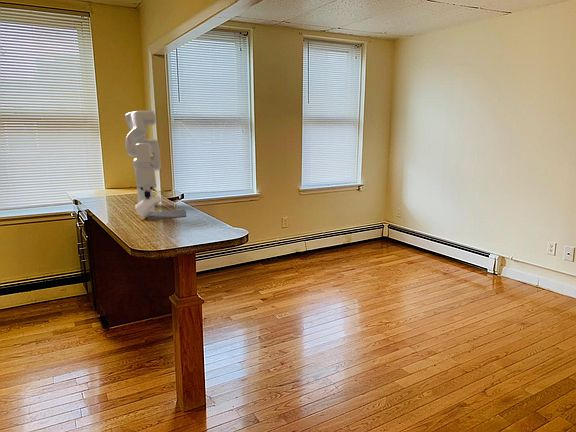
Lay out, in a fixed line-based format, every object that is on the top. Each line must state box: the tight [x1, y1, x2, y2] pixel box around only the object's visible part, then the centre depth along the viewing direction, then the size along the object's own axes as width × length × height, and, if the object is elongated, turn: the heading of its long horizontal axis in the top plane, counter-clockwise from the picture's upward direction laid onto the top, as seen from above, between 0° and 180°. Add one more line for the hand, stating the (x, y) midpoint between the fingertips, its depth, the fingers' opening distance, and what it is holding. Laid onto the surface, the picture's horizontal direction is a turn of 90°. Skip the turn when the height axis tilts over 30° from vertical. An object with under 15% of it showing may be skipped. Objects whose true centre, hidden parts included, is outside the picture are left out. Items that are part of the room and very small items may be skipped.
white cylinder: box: [135, 195, 162, 219], centre depth 240 cm, size 9×9×12 cm
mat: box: [147, 209, 186, 221], centre depth 247 cm, size 20×20×1 cm
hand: (147, 198), depth 242 cm, fingers closed
